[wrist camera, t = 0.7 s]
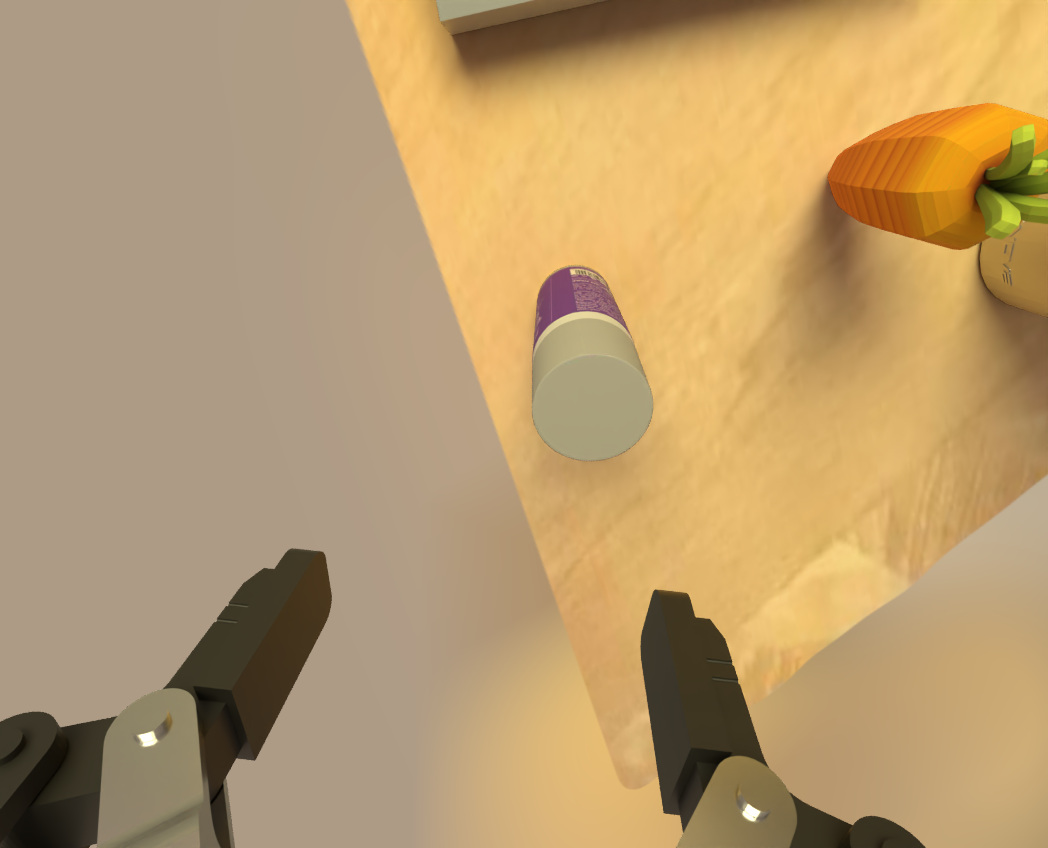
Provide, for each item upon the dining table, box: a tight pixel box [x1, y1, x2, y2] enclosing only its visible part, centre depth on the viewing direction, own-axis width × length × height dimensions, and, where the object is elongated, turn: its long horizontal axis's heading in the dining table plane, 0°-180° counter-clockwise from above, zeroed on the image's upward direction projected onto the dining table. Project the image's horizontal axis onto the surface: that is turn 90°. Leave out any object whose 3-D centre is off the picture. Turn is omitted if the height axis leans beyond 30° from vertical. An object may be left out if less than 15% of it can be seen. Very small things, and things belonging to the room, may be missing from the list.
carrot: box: [827, 103, 1048, 250], centre depth 21 cm, size 5×5×15 cm
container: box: [532, 265, 653, 461], centre depth 25 cm, size 5×5×15 cm
